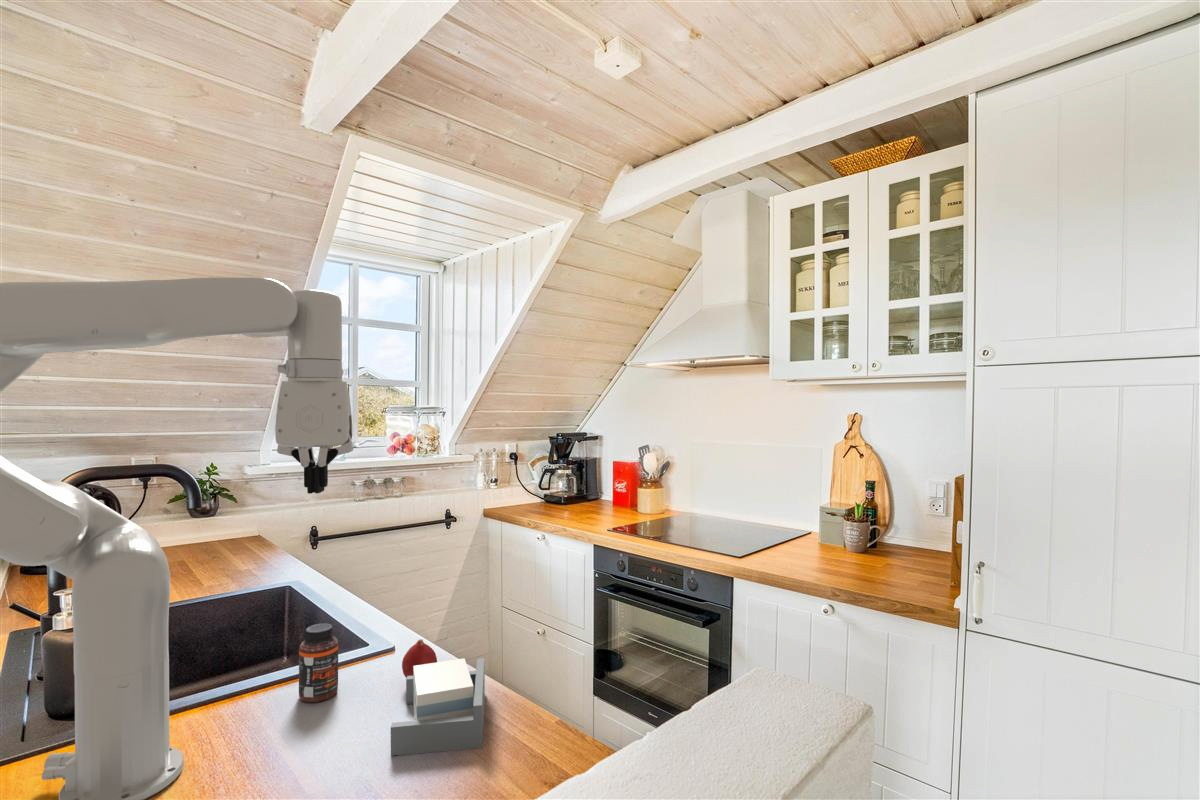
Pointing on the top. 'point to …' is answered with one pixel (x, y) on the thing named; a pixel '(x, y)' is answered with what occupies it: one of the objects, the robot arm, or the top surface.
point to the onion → (417, 657)
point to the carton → (442, 690)
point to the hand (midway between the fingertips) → (316, 491)
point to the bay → (442, 724)
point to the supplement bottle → (318, 664)
